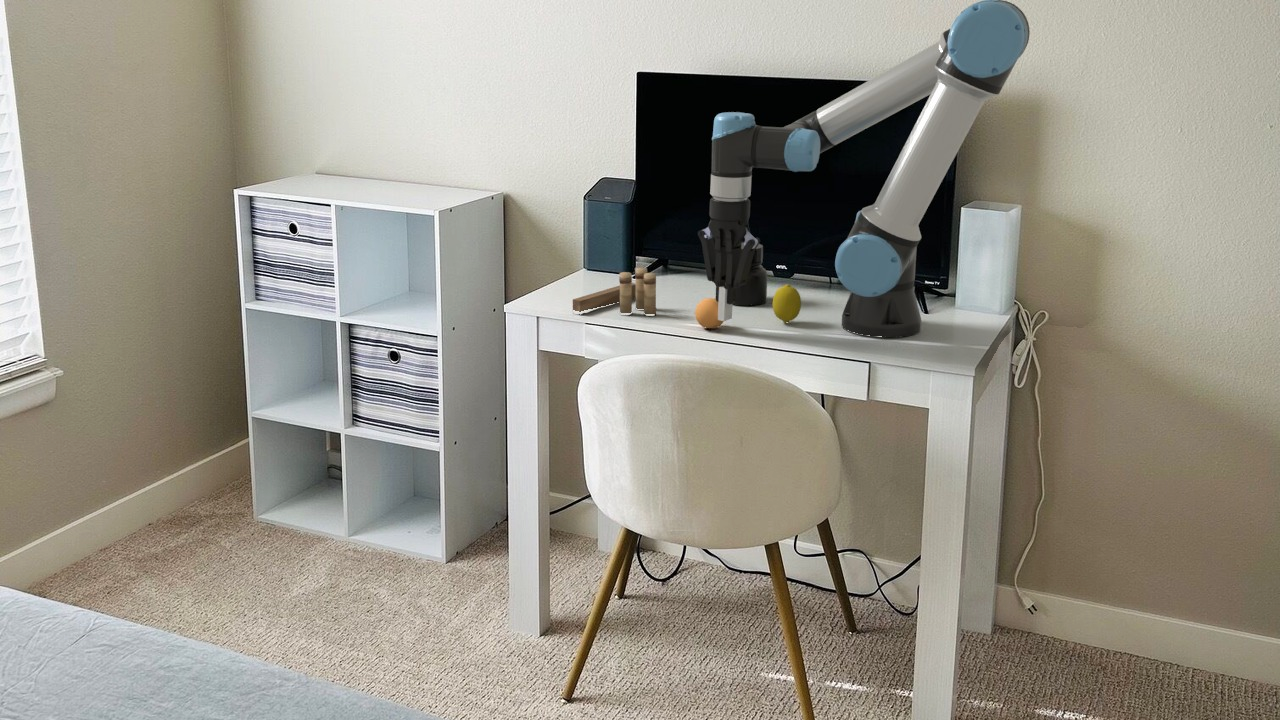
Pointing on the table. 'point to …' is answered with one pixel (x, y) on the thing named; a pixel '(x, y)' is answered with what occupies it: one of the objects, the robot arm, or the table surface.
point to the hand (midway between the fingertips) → (724, 319)
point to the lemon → (786, 303)
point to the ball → (708, 313)
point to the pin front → (649, 293)
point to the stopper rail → (600, 298)
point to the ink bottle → (753, 282)
